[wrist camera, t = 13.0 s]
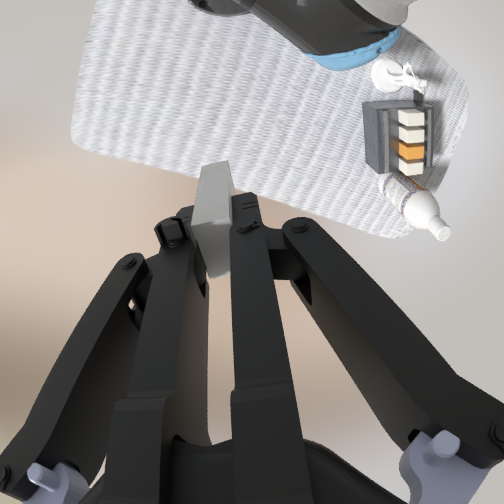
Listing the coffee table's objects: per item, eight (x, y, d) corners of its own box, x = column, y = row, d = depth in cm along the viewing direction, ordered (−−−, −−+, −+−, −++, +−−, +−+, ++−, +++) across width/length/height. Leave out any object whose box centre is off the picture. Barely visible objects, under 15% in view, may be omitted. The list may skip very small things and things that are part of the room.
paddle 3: (399, 142, 47) (407, 147, 44) (415, 141, 47) (423, 146, 44) (399, 154, 48) (407, 159, 46) (415, 152, 48) (423, 158, 45)
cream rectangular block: (398, 109, 43) (407, 113, 41) (414, 109, 43) (424, 112, 41) (398, 121, 45) (407, 126, 42) (415, 120, 44) (424, 125, 42)
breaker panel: (362, 102, 48) (377, 109, 43) (416, 100, 47) (435, 107, 42) (365, 162, 55) (380, 175, 50) (416, 156, 55) (433, 168, 49)
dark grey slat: (413, 90, 46) (416, 91, 45) (418, 90, 46) (421, 91, 45) (413, 165, 56) (416, 167, 55) (418, 164, 56) (421, 166, 55)
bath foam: (411, 180, 58) (466, 230, 42) (389, 202, 61) (438, 258, 45) (393, 159, 55) (450, 206, 39) (371, 183, 58) (420, 238, 42)
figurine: (410, 75, 45) (448, 85, 35) (390, 101, 48) (425, 115, 38) (385, 49, 42) (422, 52, 32) (364, 75, 45) (397, 83, 35)
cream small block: (399, 158, 49) (407, 164, 46) (414, 156, 48) (423, 162, 46) (398, 169, 50) (406, 175, 47) (414, 167, 50) (422, 173, 47)
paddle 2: (398, 126, 45) (407, 130, 43) (415, 125, 45) (424, 129, 42) (399, 138, 46) (407, 143, 44) (415, 136, 46) (424, 141, 44)
